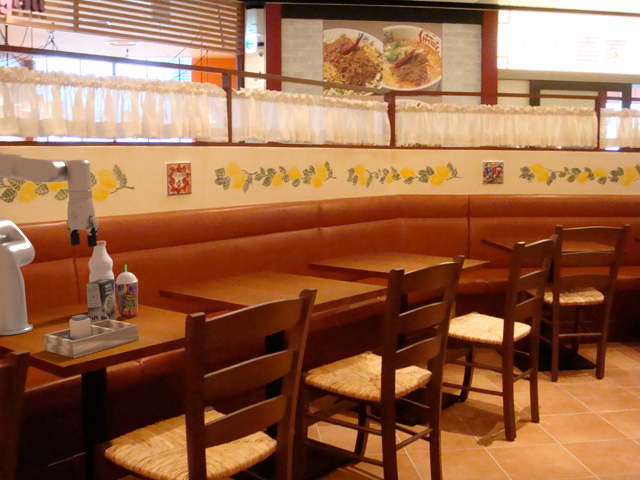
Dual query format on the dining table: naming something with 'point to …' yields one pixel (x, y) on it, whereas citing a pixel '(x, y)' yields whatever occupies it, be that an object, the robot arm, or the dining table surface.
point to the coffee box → (101, 300)
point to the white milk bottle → (100, 264)
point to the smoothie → (127, 294)
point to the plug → (80, 326)
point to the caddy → (91, 338)
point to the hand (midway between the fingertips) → (83, 245)
